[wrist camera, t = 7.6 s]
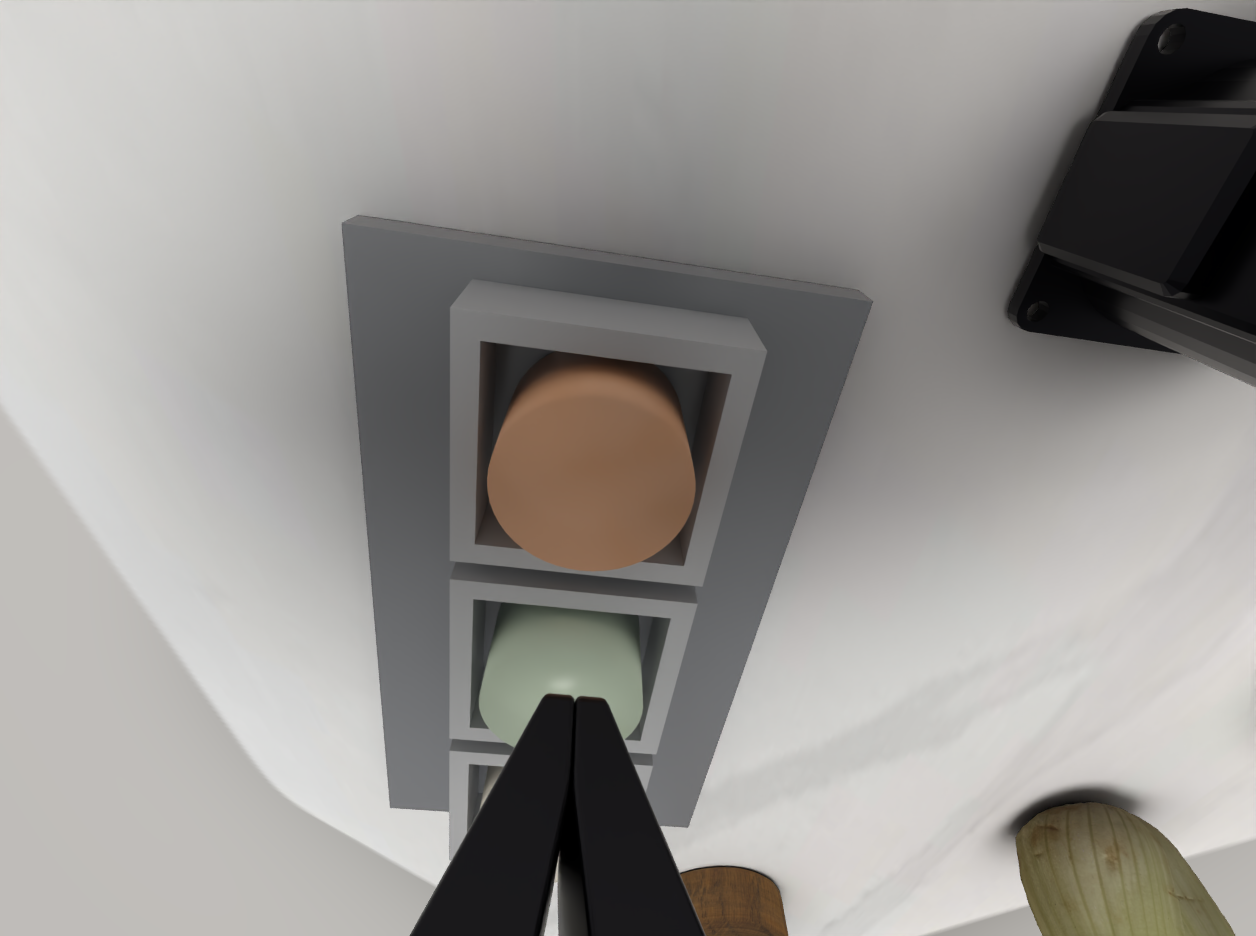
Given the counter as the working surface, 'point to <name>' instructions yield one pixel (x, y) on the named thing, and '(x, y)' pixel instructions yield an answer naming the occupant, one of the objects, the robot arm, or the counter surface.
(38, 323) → the counter surface
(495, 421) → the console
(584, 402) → the button terracotta
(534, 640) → the button sage
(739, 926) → the mortar and pestle
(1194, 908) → the fennel bulb
